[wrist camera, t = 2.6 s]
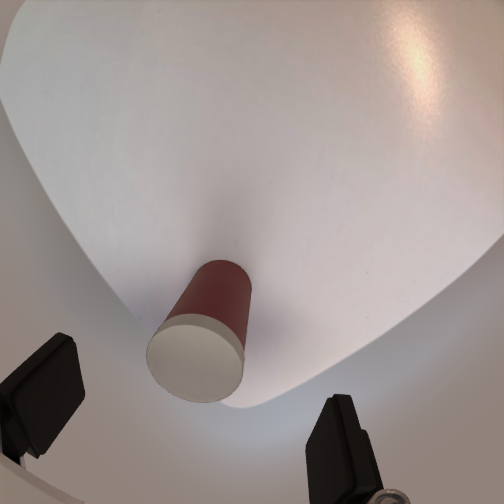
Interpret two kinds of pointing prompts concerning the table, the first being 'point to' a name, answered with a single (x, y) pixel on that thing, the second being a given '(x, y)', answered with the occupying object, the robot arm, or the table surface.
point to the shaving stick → (204, 336)
